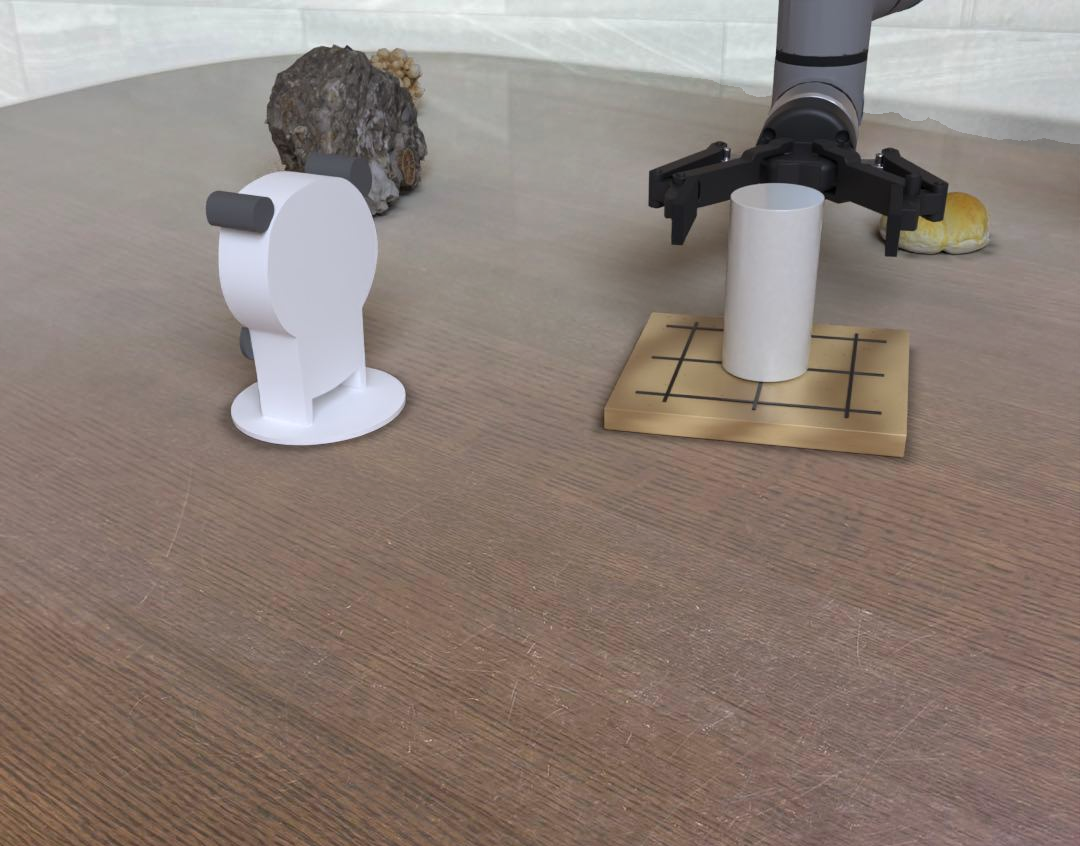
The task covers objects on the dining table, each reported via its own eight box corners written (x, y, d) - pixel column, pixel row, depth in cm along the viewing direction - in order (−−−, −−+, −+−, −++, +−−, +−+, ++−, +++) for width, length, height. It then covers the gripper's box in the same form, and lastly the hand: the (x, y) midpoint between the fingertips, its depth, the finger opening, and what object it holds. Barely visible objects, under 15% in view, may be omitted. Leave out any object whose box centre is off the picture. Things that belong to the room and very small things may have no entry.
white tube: (812, 350, 80) (827, 185, 74) (804, 385, 75) (821, 212, 70) (727, 344, 81) (736, 181, 75) (715, 378, 77) (724, 207, 71)
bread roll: (875, 225, 107) (880, 179, 104) (981, 227, 105) (988, 181, 103) (880, 256, 100) (886, 208, 98) (993, 259, 98) (1002, 211, 96)
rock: (400, 23, 103) (260, -17, 108) (328, 175, 102) (190, 127, 107) (469, 130, 120) (346, 91, 125) (408, 260, 119) (287, 216, 124)
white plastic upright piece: (308, 355, 86) (277, 141, 78) (443, 382, 81) (425, 157, 73) (195, 424, 77) (147, 191, 69) (339, 459, 73) (305, 213, 65)
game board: (907, 350, 84) (910, 328, 83) (903, 457, 71) (907, 433, 70) (651, 331, 88) (651, 310, 87) (603, 429, 75) (603, 406, 74)
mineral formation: (436, 108, 150) (384, 129, 137) (342, 122, 154) (284, 143, 142) (422, 39, 146) (368, 54, 134) (327, 55, 151) (266, 72, 139)
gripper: (966, 199, 93) (978, 298, 76) (649, 186, 99) (592, 275, 82) (983, 99, 89) (999, 179, 72) (650, 90, 95) (591, 163, 78)
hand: (783, 230), depth 77 cm, fingers open, 13 cm apart
